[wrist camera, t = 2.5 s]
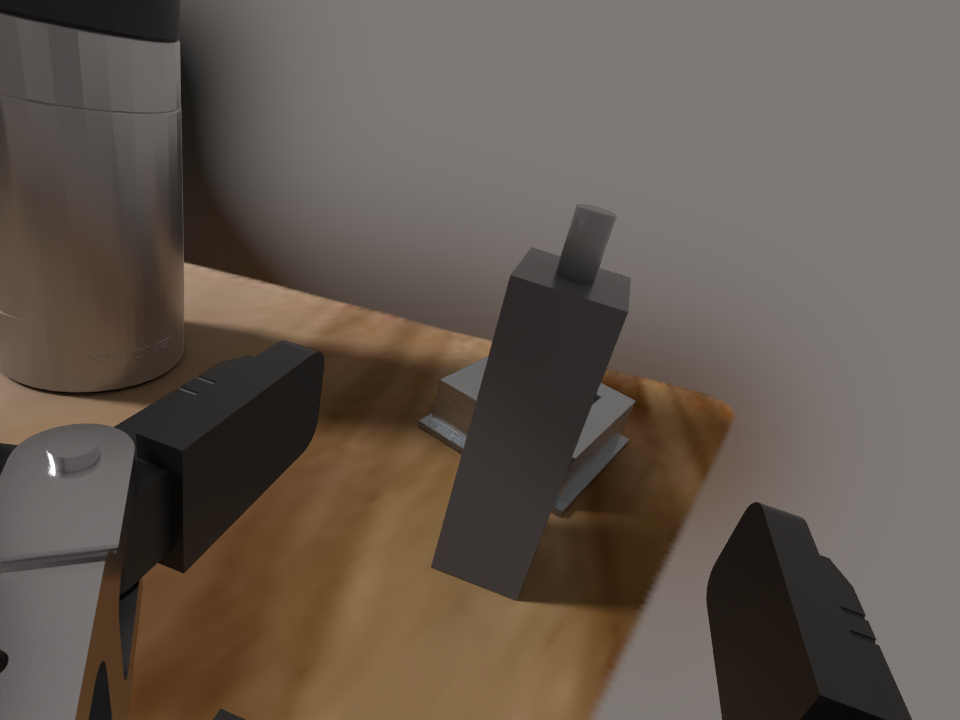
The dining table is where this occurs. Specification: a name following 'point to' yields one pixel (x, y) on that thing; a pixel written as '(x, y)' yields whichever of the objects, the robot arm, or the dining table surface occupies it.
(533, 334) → the plug
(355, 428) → the dining table surface
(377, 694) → the dining table surface
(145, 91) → the robot arm
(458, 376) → the socket
